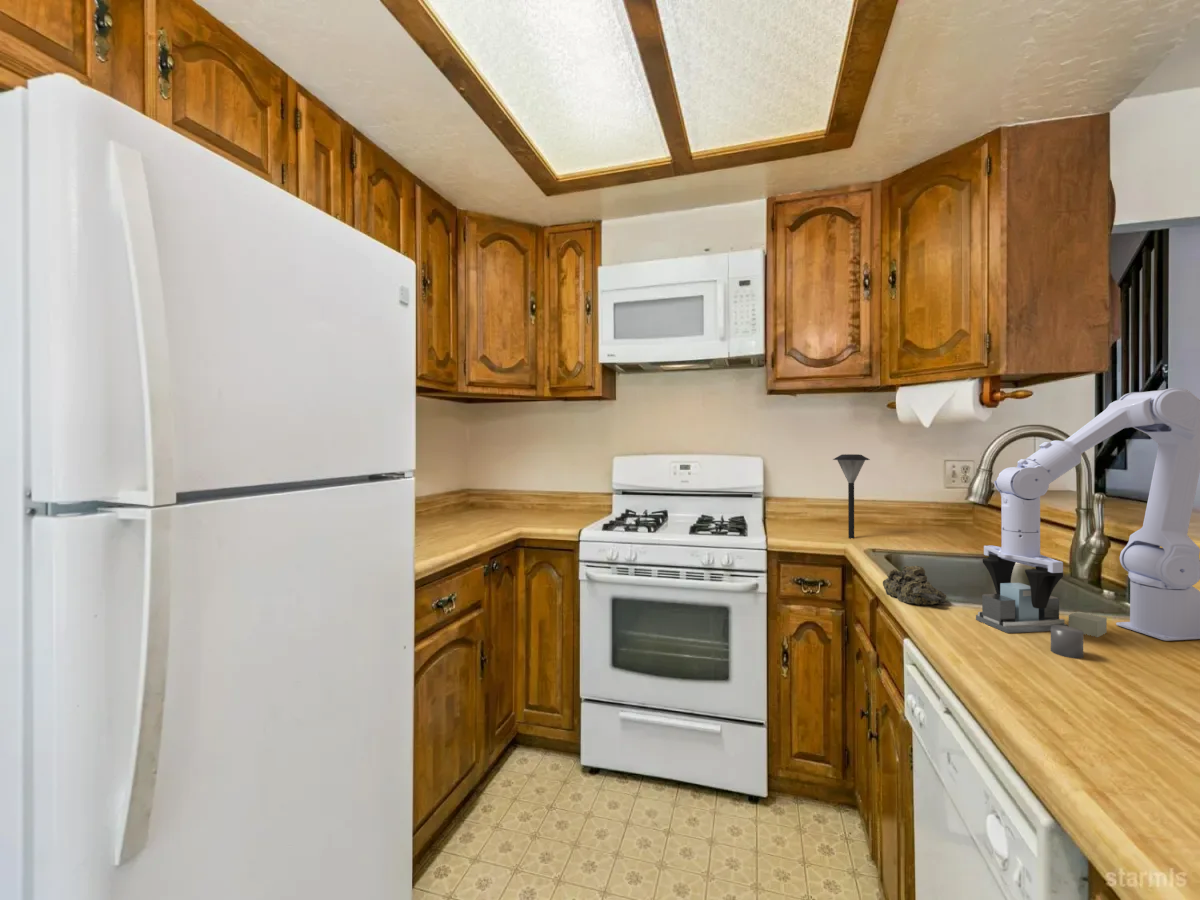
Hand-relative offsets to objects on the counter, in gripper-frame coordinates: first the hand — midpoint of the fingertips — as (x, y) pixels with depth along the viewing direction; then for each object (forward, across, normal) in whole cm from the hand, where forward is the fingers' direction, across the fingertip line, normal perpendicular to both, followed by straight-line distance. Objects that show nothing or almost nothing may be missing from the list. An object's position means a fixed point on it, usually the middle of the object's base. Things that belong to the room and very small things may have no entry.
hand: (1020, 601), depth 97 cm
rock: (+5, -18, -9) cm, 20 cm away
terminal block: (+5, +4, +9) cm, 11 cm away
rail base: (+5, 0, 0) cm, 5 cm away
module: (+3, 0, 0) cm, 3 cm away
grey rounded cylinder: (+5, +12, -4) cm, 14 cm away
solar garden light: (+5, -84, +18) cm, 87 cm away
